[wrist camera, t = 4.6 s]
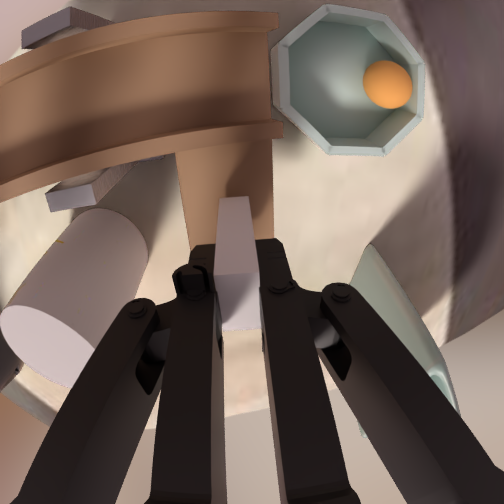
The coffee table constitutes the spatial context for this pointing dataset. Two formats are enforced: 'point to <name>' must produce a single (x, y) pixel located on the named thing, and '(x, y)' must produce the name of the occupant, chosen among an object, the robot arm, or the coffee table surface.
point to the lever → (149, 110)
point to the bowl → (344, 81)
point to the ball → (387, 84)
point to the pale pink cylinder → (75, 294)
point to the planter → (401, 319)
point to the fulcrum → (93, 183)
